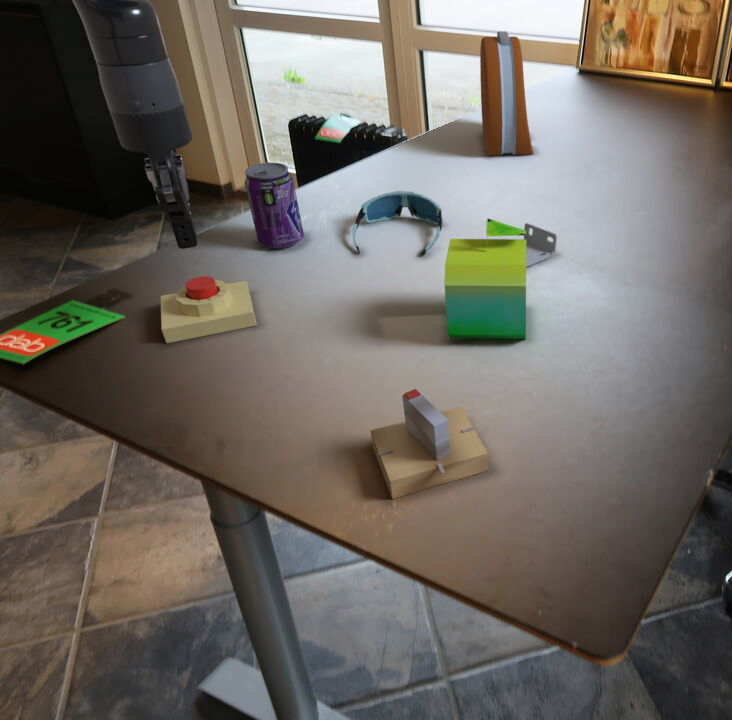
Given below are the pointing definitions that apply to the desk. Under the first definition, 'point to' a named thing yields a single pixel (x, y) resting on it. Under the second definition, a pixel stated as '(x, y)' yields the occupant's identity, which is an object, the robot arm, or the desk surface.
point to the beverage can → (273, 205)
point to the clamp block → (428, 456)
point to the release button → (201, 288)
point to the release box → (206, 312)
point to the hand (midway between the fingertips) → (188, 243)
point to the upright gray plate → (426, 424)
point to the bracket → (538, 244)
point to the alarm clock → (503, 96)
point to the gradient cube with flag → (487, 285)
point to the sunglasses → (400, 210)
